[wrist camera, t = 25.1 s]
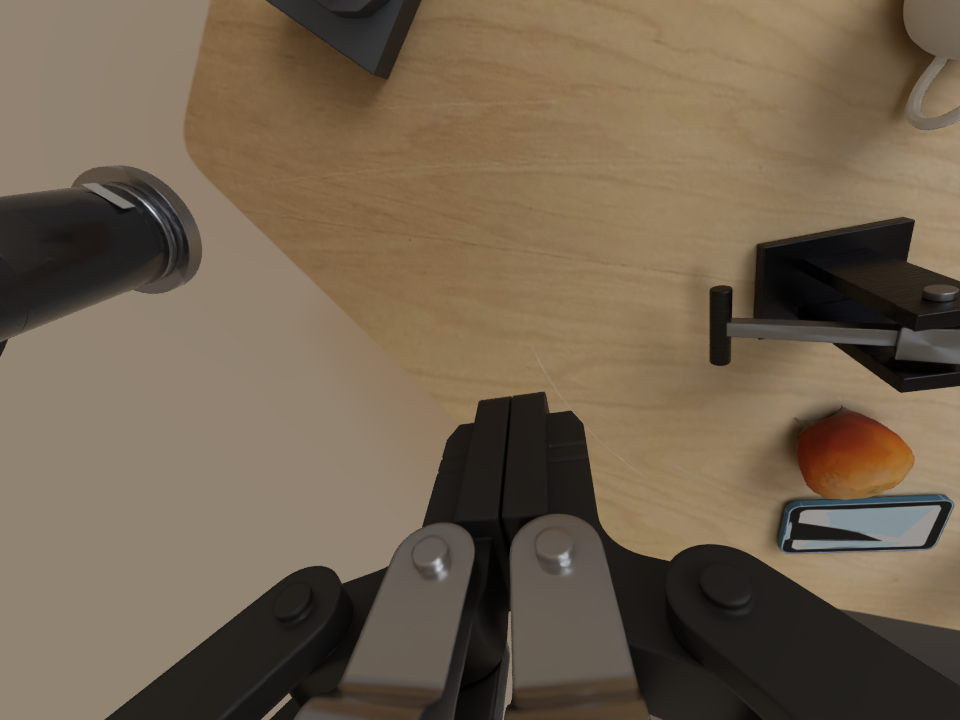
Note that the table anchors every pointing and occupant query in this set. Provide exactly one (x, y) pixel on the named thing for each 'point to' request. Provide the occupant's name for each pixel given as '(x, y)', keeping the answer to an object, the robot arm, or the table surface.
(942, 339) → the lever
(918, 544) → the smartphone
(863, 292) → the bracket
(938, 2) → the mug
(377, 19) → the button block
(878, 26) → the table surface
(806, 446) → the fruit
